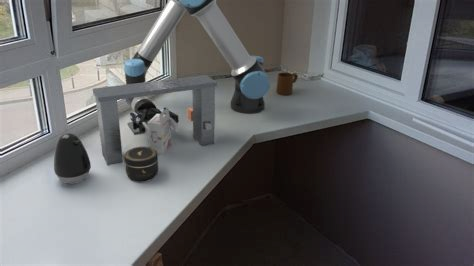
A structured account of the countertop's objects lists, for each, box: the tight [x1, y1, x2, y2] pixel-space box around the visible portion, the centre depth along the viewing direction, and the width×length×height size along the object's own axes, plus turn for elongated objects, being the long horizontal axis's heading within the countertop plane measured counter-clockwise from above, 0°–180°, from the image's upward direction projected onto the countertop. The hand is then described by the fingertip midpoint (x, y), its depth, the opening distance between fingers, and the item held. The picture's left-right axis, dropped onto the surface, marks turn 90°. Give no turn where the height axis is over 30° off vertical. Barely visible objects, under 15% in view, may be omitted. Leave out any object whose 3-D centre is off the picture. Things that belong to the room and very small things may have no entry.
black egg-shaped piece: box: [53, 132, 92, 185], centre depth 122 cm, size 10×10×15 cm
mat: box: [127, 119, 151, 136], centre depth 161 cm, size 10×10×1 cm
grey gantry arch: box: [92, 74, 218, 166], centre depth 140 cm, size 9×39×24 cm, turn 118°
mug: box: [276, 72, 298, 96], centre depth 202 cm, size 12×8×9 cm, turn 129°
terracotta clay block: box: [187, 106, 212, 130], centre depth 149 cm, size 16×4×4 cm, turn 28°
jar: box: [123, 146, 159, 183], centre depth 127 cm, size 10×10×8 cm
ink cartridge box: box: [147, 107, 172, 156], centre depth 142 cm, size 9×5×15 cm, turn 168°
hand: (163, 130), depth 137 cm, fingers closed on ink cartridge box, 9 cm apart
